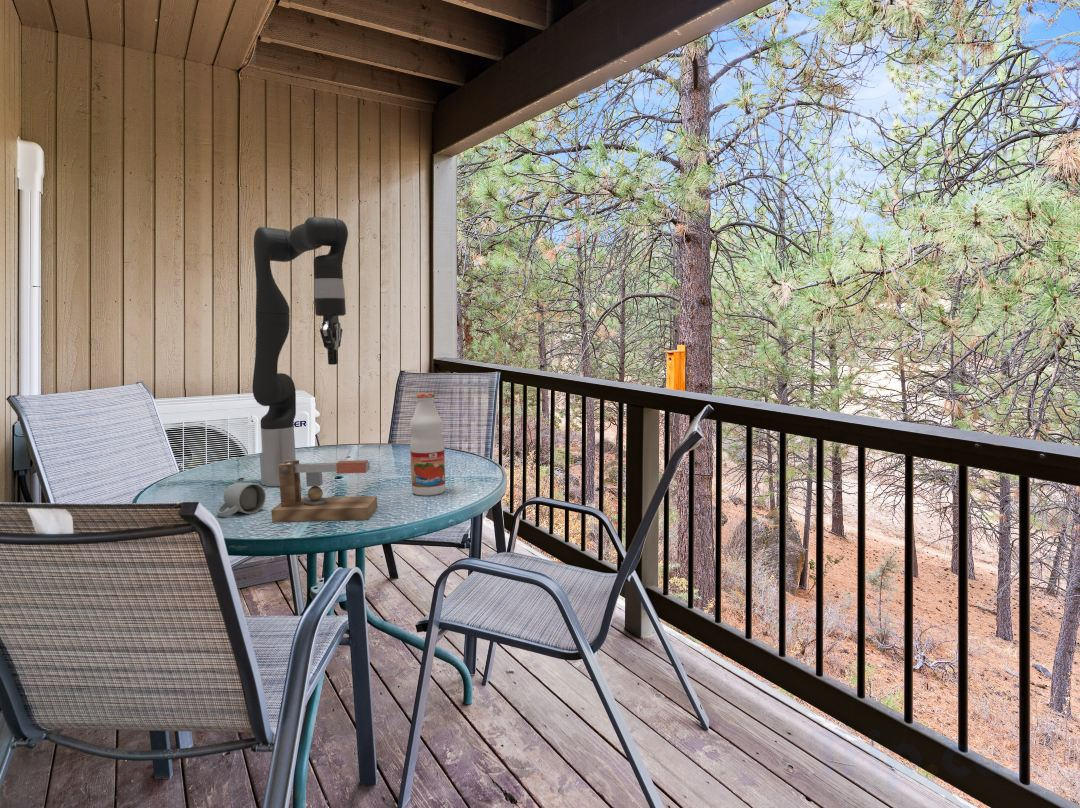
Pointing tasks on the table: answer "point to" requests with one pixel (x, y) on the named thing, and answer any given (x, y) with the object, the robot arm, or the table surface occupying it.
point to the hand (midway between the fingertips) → (333, 364)
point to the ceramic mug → (242, 499)
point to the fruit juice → (427, 448)
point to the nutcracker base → (316, 502)
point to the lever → (329, 469)
